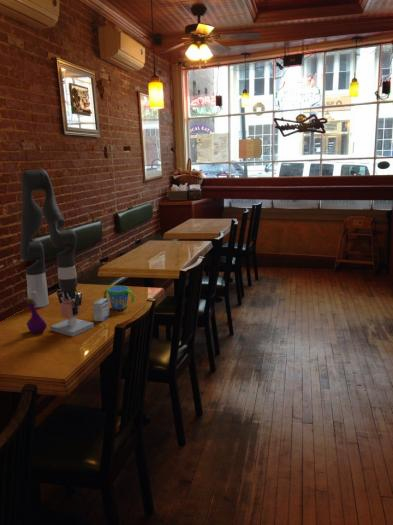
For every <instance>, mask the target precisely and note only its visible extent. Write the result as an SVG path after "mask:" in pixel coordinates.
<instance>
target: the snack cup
mask: <svg viewBox="0 0 393 525" xmlns="http://www.w3.org/2000/svg"><path fill="white" fill-rule="evenodd" d="M107 293H108V296H109V298H108V297H107ZM129 295H130V296H131V301H130V302H131V303H132V304H133V303H134V301H135V296H134V293H133V291H132V290H131V289H130V287H129V286H127V285H114V286H110V287H108V288H106V290H105V291H104V292H103V298H106V299H109V302H110V305H111V308H112V310H115V311H116V310H117V311H119V310H120V311H121V310H125V309H127V307H128V301H129V300H128V298H129Z"/></svg>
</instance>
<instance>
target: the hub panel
mask: <svg viewBox="0 0 393 525" xmlns="http://www.w3.org/2000/svg"><path fill="white" fill-rule="evenodd" d="M66 318H67V317H66ZM94 328H95V324H94V322H92V321H87V320H83V319H79V318H77V316H74V317H72V318H67V319H65V320H62V321H60V322H58V323H55V324H52V325H51V326H50V330H51V332H56V333H59V334H62V335H66V336H68V337H72V338H73V337H75V336H78V335H79V334H82V333H84V332H87V331H90V330H92V329H94Z"/></svg>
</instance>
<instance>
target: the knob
mask: <svg viewBox="0 0 393 525" xmlns="http://www.w3.org/2000/svg"><path fill="white" fill-rule="evenodd" d="M72 300H74V299H72ZM78 303H79V302H78ZM74 304H75V302H74ZM72 308H73V307H72V304H71V303H70V301H69V299H66V300H64V302H62V303H60V311H61V317H62V318H63V317H64V318H72V317H74V315H73V310H72ZM78 315H81V305H80V306H78ZM78 315H75V316H76V317H77V316H78Z"/></svg>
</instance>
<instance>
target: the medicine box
mask: <svg viewBox="0 0 393 525" xmlns="http://www.w3.org/2000/svg"><path fill="white" fill-rule="evenodd" d="M109 302H110V299H109V298H107V299H106V298H104V297H103V298H102V297H101V298H99V299H98V300H95V302H94V303H92V310H93V317H94V321H95V322H105V320H107V319H108V318H109V317H110V314H111V313H110V305H109V304H110V303H109Z"/></svg>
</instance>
